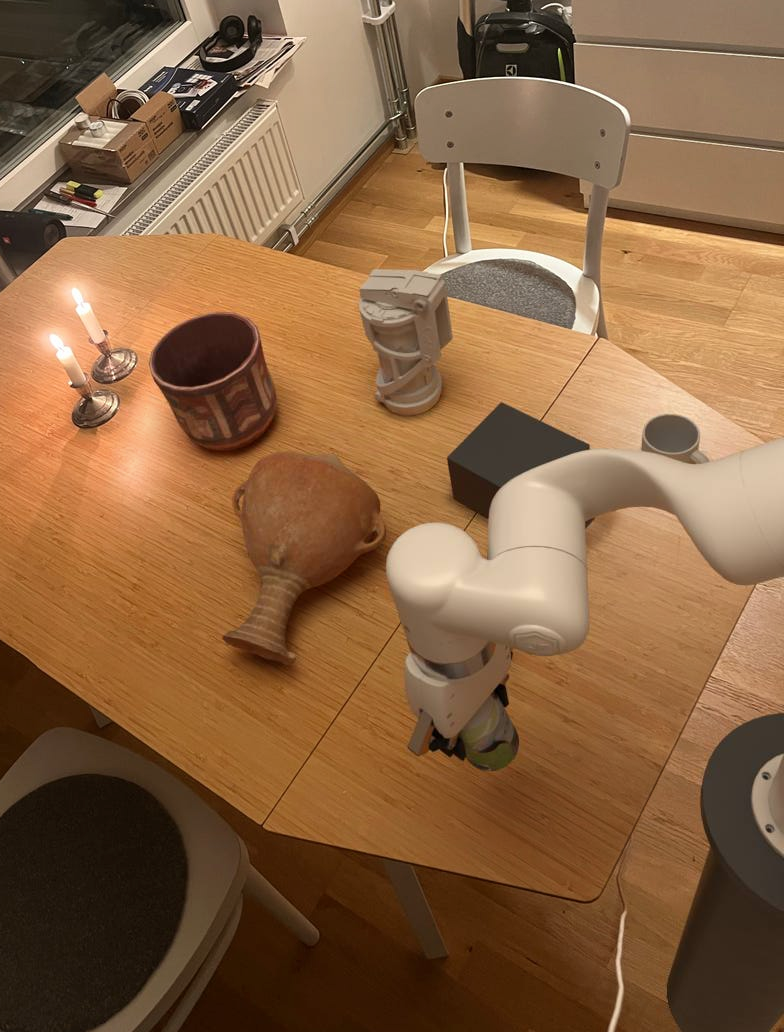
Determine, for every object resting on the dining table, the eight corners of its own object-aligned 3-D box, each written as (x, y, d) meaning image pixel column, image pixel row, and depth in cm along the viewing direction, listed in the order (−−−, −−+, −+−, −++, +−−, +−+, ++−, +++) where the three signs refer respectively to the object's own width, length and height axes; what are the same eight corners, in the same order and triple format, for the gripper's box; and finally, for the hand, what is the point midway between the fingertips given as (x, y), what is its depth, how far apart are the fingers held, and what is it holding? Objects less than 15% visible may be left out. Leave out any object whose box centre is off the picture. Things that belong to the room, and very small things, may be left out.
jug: (419, 464, 124) (352, 671, 110) (364, 505, 141) (300, 690, 127) (291, 398, 121) (204, 602, 107) (249, 448, 138) (170, 630, 124)
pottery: (251, 477, 146) (218, 401, 133) (165, 450, 154) (127, 375, 141) (304, 400, 155) (279, 321, 141) (221, 378, 163) (190, 301, 150)
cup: (659, 447, 132) (664, 405, 126) (723, 482, 126) (731, 440, 120) (628, 477, 130) (631, 436, 123) (691, 514, 124) (697, 473, 117)
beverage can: (531, 742, 95) (523, 685, 87) (489, 797, 93) (476, 743, 84) (482, 708, 99) (470, 651, 91) (441, 760, 96) (423, 705, 88)
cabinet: (589, 487, 130) (589, 444, 123) (537, 547, 126) (534, 505, 119) (504, 444, 139) (501, 401, 132) (453, 499, 134) (446, 457, 127)
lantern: (369, 408, 150) (340, 292, 132) (398, 365, 155) (374, 248, 137) (440, 428, 144) (420, 309, 126) (468, 383, 149) (453, 262, 131)
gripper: (477, 544, 83) (495, 640, 96) (352, 683, 77) (389, 766, 90) (547, 585, 79) (556, 681, 92) (420, 737, 73) (449, 816, 86)
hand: (473, 722), depth 91 cm, fingers closed on beverage can, 6 cm apart
